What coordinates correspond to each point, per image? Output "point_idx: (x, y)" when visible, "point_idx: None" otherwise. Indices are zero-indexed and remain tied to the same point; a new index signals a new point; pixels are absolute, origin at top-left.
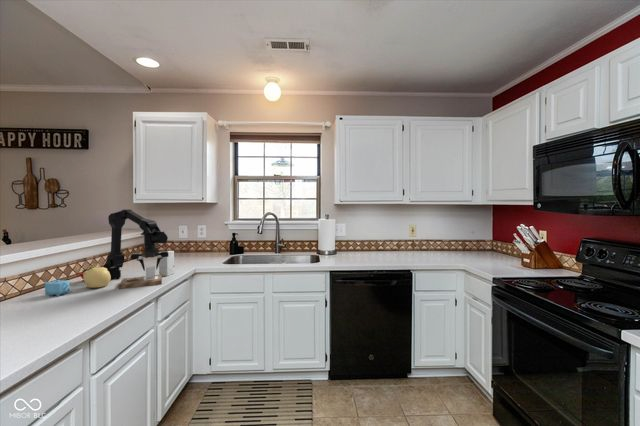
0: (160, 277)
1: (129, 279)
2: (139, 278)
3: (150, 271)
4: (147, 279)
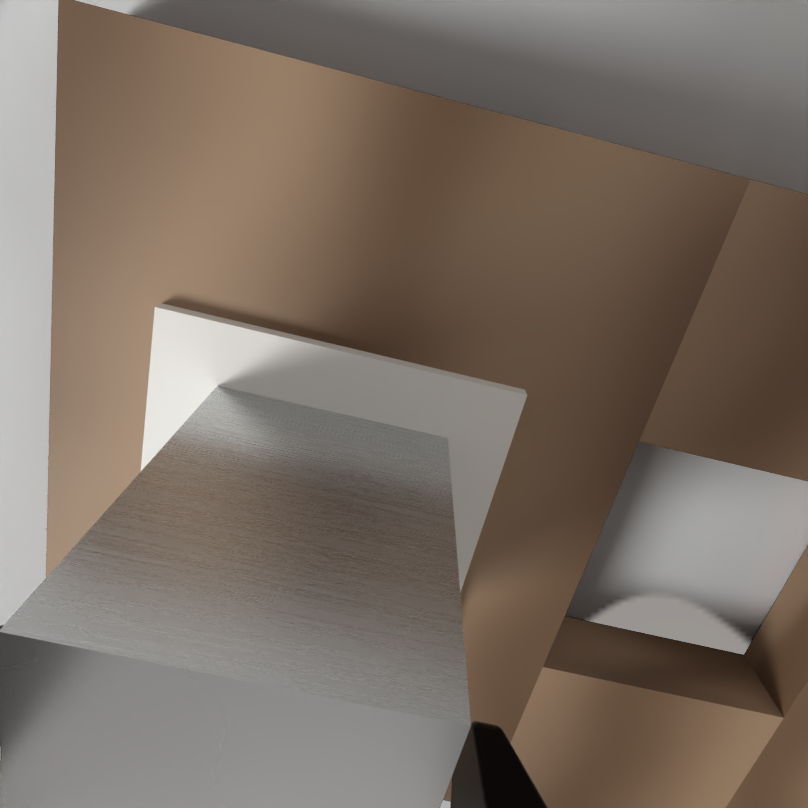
0: (75, 469)
1: (720, 732)
2: (526, 690)
3: (283, 542)
4: (416, 408)
